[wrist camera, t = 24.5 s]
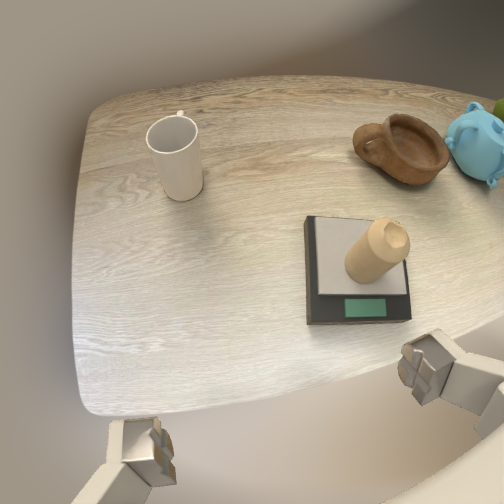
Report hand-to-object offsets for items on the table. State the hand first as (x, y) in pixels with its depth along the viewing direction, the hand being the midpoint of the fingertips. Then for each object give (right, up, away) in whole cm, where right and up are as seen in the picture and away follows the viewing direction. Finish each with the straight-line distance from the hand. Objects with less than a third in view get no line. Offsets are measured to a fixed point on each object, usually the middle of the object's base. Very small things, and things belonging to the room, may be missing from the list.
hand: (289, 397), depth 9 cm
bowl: (+24, +20, +43) cm, 54 cm away
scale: (+14, +1, +35) cm, 38 cm away
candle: (+14, +3, +32) cm, 35 cm away
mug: (-12, +16, +40) cm, 44 cm away
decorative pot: (+47, +25, +46) cm, 71 cm away
